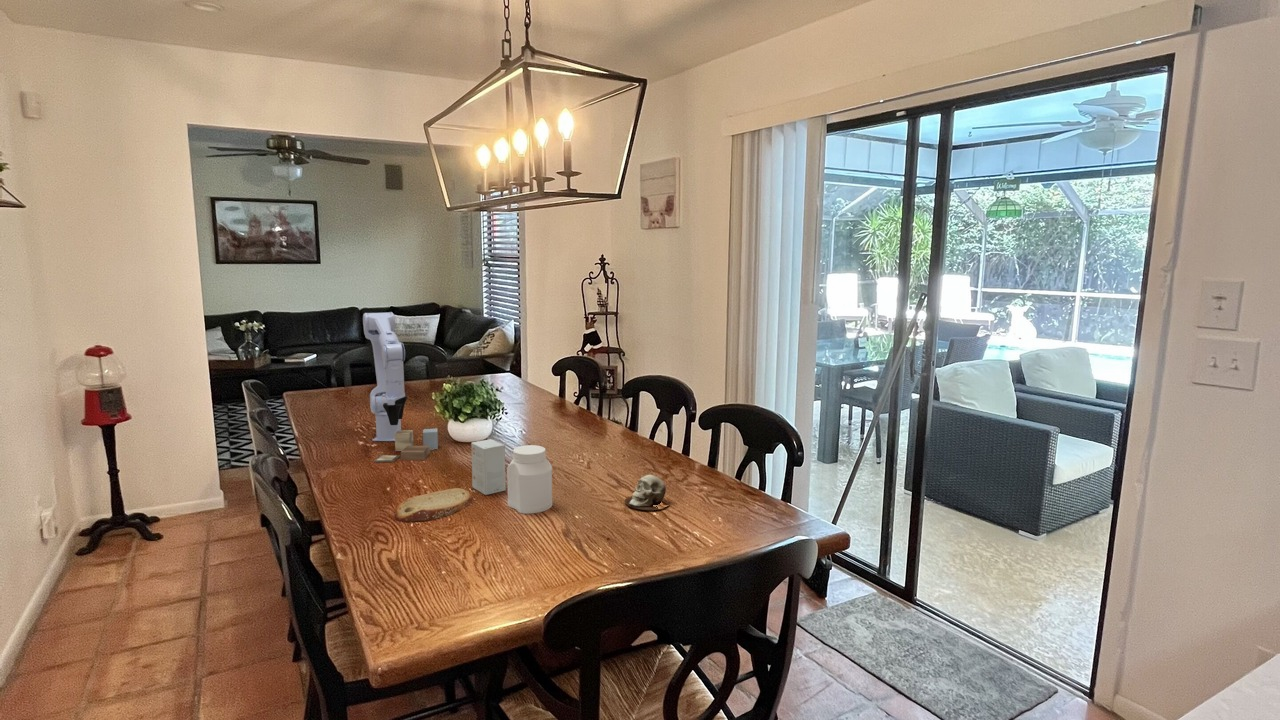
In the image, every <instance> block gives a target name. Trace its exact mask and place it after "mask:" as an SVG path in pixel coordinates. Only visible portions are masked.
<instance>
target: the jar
mask: <svg viewBox="0 0 1280 720" xmlns="http://www.w3.org/2000/svg"><path fill="white" fill-rule="evenodd" d="M546 449H547V448H545V447H544V446H540V445H536V444H534V445H533V444H529V445H528V444H527V445H520V446H517V447H515V448H514V449H513V450H512V454H513V456H512V460H511V461H510V463H509V464H508V466H507V467H506V473H507V475H506V476H507V477H506V478H507V479H506V480H507V506H508V507H509V508H512V509H514V510H516V511H517V512H518V513H520V514H526V515H530V514H538V513H539V514H540V513H542V512H545V511H548V510H550V509H551V508H552V506H553V466H552V464H551V463H550V461H549V459H547V457H546V452H547V451H546Z"/></svg>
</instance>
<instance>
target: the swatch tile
mask: <svg viewBox="0 0 1280 720" xmlns="http://www.w3.org/2000/svg"><path fill="white" fill-rule="evenodd" d="M399 458H401V455H392V454H391V455H387V454H385V455H384V454H383V455H380V456H378V457H377V458H376V459H375V460H373V463H382V462H393V463H395V461H397V460H398V459H399Z"/></svg>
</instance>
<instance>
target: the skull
mask: <svg viewBox="0 0 1280 720" xmlns="http://www.w3.org/2000/svg"><path fill="white" fill-rule="evenodd" d="M666 490H667V488H666V484H665V483H664V481H663V480H662V479H661V478H659V477H658V476H656V475H654V474H646V475H643V476H642V477H641V478H640V479H638V480H637V486H635V487H634V492H632V495H630V496H628V497H626V498H624V503H625V504H626V505H627V506H628V507H630V508H632V509H637V510H643V511H649V512H650V511H654V510H655V511H656V510H657V511H660V510H661V511H662V510H665V509H664V508H663V509H658V507H657V506H656V507H657V508H656V507H653V505H658V504H660V503H661V501H662V502H663V500H664V498H665V496H666Z"/></svg>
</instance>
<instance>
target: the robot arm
mask: <svg viewBox="0 0 1280 720" xmlns="http://www.w3.org/2000/svg"><path fill="white" fill-rule="evenodd" d="M395 318H396V317H395V313H393V312H392V311H389V312H364V313H363V315H362V325H363V334H364V336H365V338H366V339H367V340H370V342H371V346H372V352H373V359H374V360H373V361H374V368H375V369H374V371H375V376H376V385H377V386H375V387H374V388H373V389H372V390H371V391H370V393H369V405H370V406H369V408H370V412H371V413H372V414H373V415H375V431H376V433H375V434H376V435H375V437H374V438H372V441H371V442H395V433H396V432H398V431H399V430H402V425H401V424H402V421H401V420H403V416H404V409H405V404H406V402H407V399H408V396H406V393H405V374H404V370H405V369H404V361H405V358H406V349H405V346H404V343H403V342H401V341H399V338H398V335H397V334H396V333H395V327H396V319H395Z"/></svg>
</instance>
